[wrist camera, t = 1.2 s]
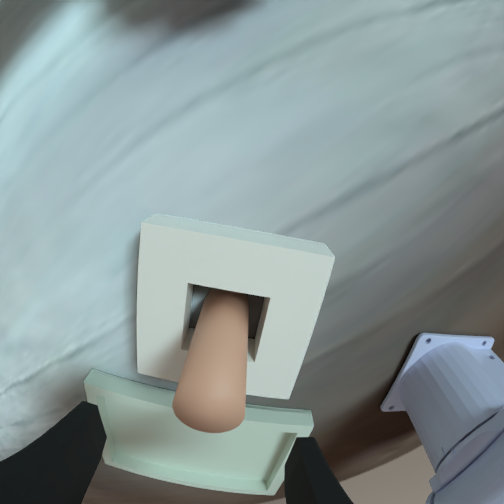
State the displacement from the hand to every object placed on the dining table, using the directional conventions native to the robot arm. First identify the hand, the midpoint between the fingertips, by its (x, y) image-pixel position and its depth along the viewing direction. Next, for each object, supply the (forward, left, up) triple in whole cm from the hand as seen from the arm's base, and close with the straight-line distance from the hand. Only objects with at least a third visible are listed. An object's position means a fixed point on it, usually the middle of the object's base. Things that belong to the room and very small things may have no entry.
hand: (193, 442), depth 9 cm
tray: (+1, +15, -10) cm, 18 cm away
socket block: (0, 0, -10) cm, 10 cm away
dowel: (0, 0, -10) cm, 10 cm away
